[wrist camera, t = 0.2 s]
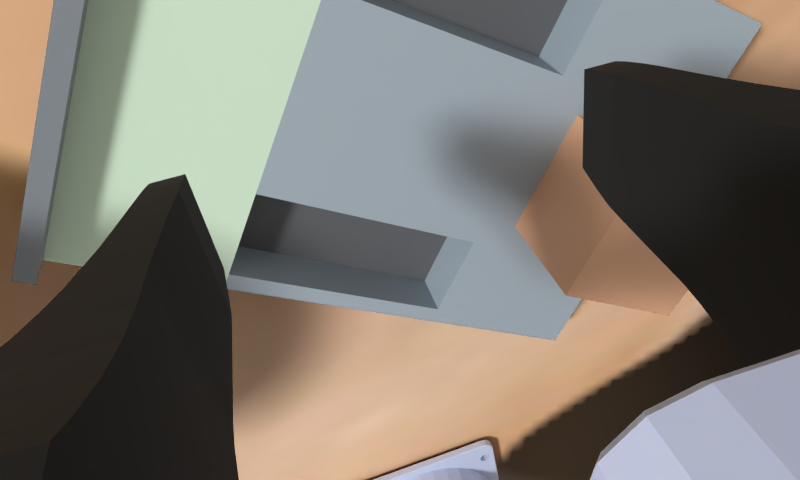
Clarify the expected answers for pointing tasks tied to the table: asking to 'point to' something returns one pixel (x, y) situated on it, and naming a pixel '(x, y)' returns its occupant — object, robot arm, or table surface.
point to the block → (592, 239)
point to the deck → (341, 137)
